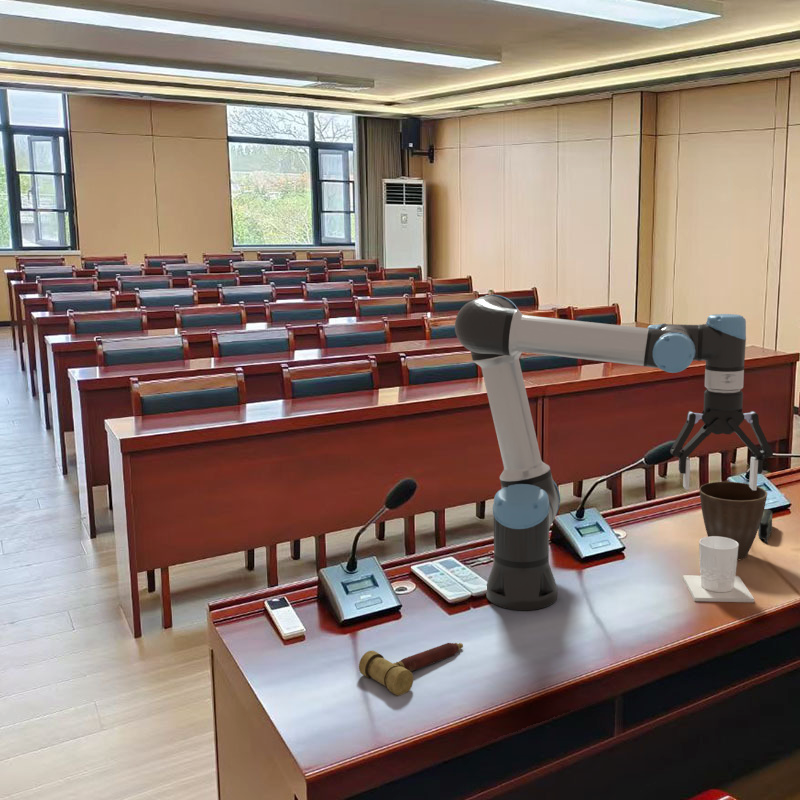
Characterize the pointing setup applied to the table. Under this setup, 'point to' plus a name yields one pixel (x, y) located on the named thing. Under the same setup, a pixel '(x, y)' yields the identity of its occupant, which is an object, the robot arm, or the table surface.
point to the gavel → (402, 666)
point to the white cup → (718, 563)
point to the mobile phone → (765, 525)
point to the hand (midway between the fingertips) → (719, 488)
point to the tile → (701, 594)
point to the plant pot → (733, 512)
